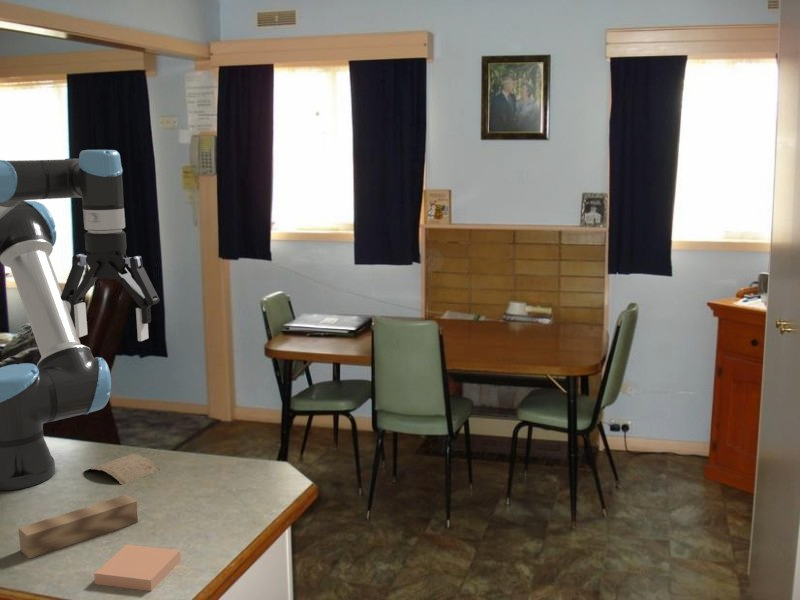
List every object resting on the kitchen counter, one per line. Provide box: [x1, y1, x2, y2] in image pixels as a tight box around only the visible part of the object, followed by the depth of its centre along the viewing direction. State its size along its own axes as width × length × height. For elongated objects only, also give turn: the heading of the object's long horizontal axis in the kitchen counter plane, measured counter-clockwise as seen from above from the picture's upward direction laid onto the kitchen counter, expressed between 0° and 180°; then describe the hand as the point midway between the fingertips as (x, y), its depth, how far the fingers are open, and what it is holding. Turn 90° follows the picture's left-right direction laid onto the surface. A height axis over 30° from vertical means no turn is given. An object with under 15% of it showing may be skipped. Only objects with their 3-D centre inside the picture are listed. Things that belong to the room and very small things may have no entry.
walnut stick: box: [18, 494, 139, 559], centre depth 154 cm, size 20×4×4 cm, turn 133°
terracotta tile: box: [94, 544, 181, 592], centre depth 141 cm, size 2×10×10 cm
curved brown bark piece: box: [83, 453, 161, 485], centre depth 183 cm, size 14×10×3 cm
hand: (112, 337), depth 168 cm, fingers open, 13 cm apart
